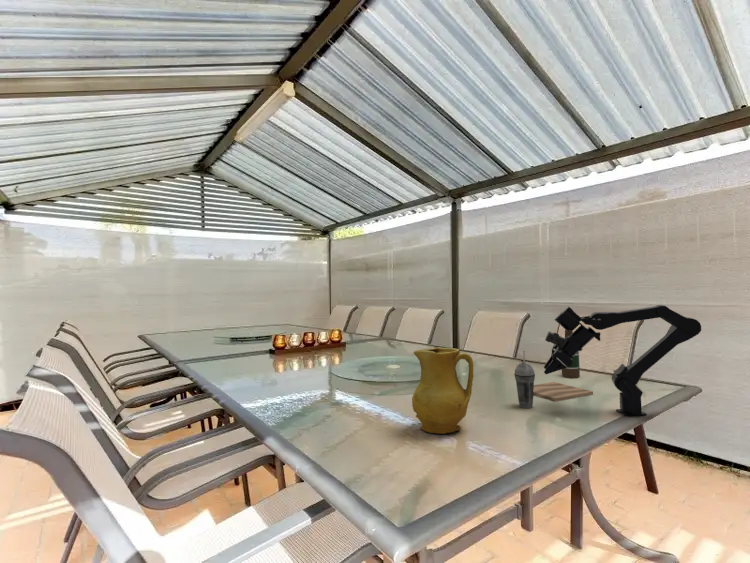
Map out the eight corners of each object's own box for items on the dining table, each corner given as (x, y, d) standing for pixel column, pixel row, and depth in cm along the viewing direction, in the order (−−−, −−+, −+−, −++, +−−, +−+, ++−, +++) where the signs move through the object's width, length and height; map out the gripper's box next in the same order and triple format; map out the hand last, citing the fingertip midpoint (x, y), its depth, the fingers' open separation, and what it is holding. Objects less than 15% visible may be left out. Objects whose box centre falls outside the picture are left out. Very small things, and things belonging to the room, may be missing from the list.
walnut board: (593, 394, 165) (592, 391, 165) (555, 401, 157) (555, 398, 157) (553, 384, 183) (553, 381, 183) (517, 390, 175) (517, 387, 175)
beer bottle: (558, 376, 199) (555, 325, 199) (569, 374, 202) (567, 324, 203) (572, 379, 192) (569, 327, 192) (583, 377, 195) (581, 325, 196)
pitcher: (431, 417, 144) (428, 344, 144) (481, 426, 132) (478, 347, 132) (402, 431, 130) (398, 351, 131) (455, 443, 118) (451, 355, 119)
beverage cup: (513, 408, 150) (511, 352, 151) (517, 402, 157) (514, 349, 157) (535, 410, 147) (532, 353, 147) (537, 404, 153) (535, 350, 154)
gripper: (558, 321, 157) (528, 350, 161) (560, 326, 139) (526, 358, 143) (582, 343, 154) (551, 372, 157) (587, 350, 136) (552, 382, 140)
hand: (544, 370), depth 150 cm, fingers open, 9 cm apart
